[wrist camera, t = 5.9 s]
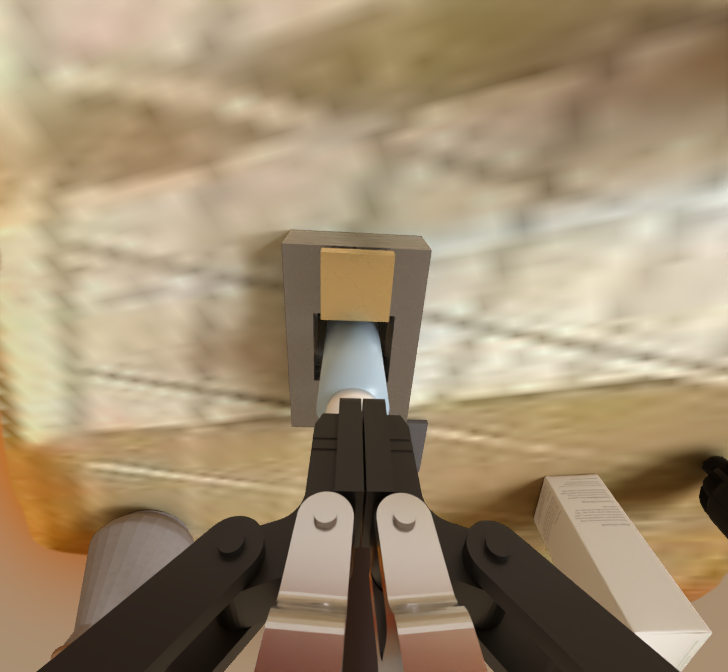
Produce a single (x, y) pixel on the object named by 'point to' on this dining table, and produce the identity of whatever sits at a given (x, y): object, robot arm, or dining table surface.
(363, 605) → the bottle
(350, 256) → the plunger
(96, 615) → the coffee pot
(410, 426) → the mat
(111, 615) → the robot arm
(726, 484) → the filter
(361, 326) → the cartridge
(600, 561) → the skincare box
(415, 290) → the housing
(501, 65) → the dining table surface
